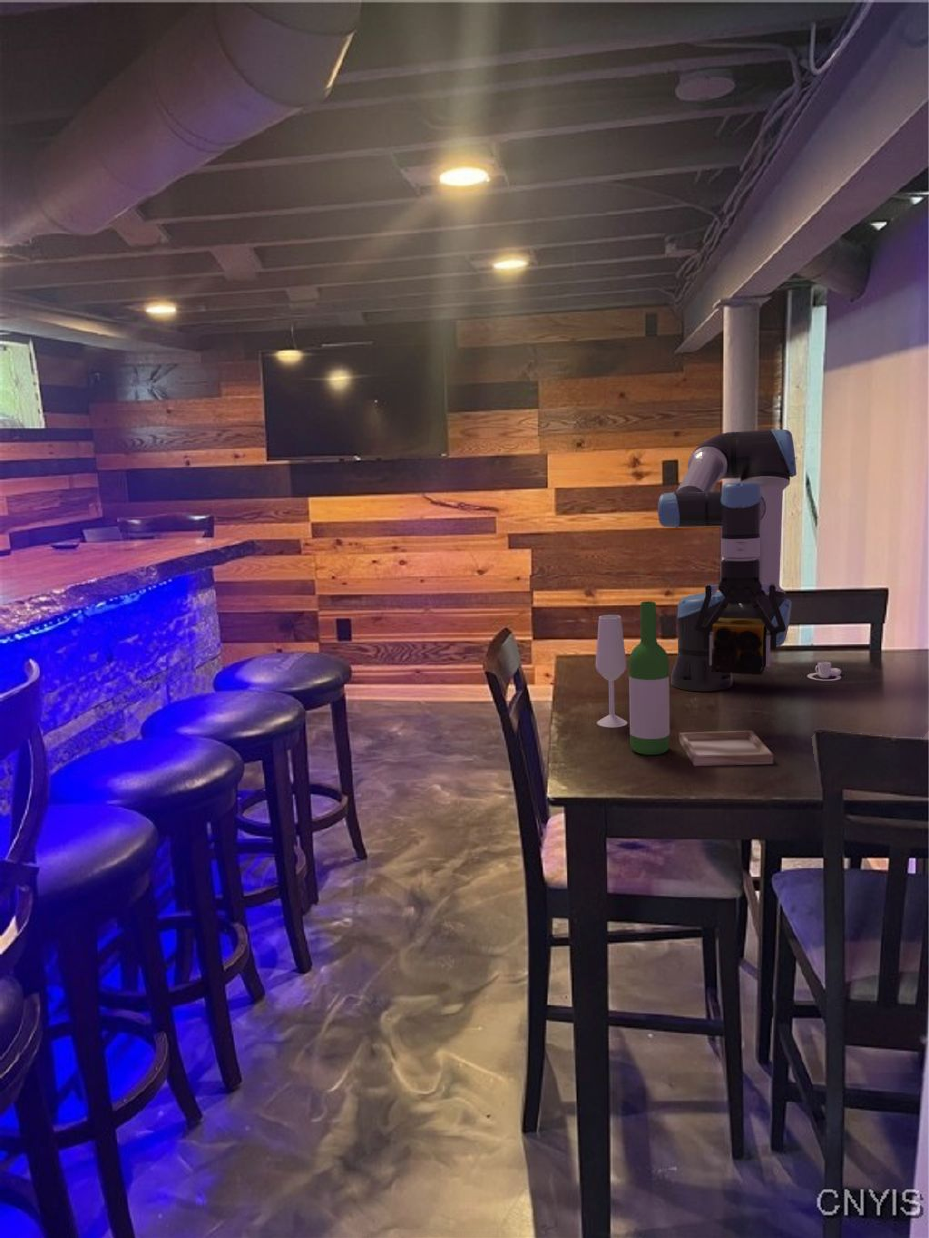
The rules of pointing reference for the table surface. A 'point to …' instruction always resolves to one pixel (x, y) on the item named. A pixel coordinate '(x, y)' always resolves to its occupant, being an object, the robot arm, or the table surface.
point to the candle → (739, 646)
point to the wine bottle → (649, 689)
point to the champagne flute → (610, 661)
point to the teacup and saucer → (826, 671)
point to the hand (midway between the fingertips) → (739, 664)
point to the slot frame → (725, 748)
